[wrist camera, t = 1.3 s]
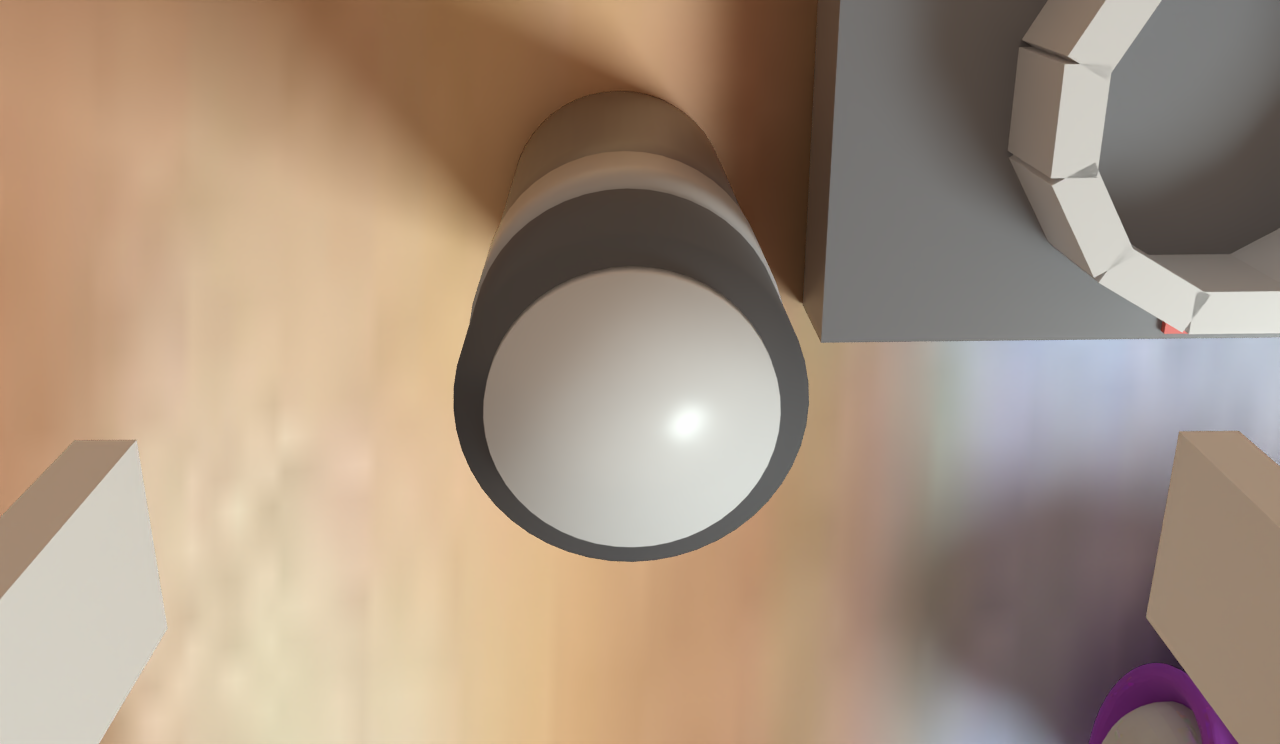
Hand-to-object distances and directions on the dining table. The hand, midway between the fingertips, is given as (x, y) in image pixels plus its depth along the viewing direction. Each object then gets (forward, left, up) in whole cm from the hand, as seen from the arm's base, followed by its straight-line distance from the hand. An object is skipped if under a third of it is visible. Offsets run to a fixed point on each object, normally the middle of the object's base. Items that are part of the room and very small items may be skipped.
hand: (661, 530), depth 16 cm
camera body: (+14, +3, -18) cm, 23 cm away
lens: (0, 0, -18) cm, 18 cm away
